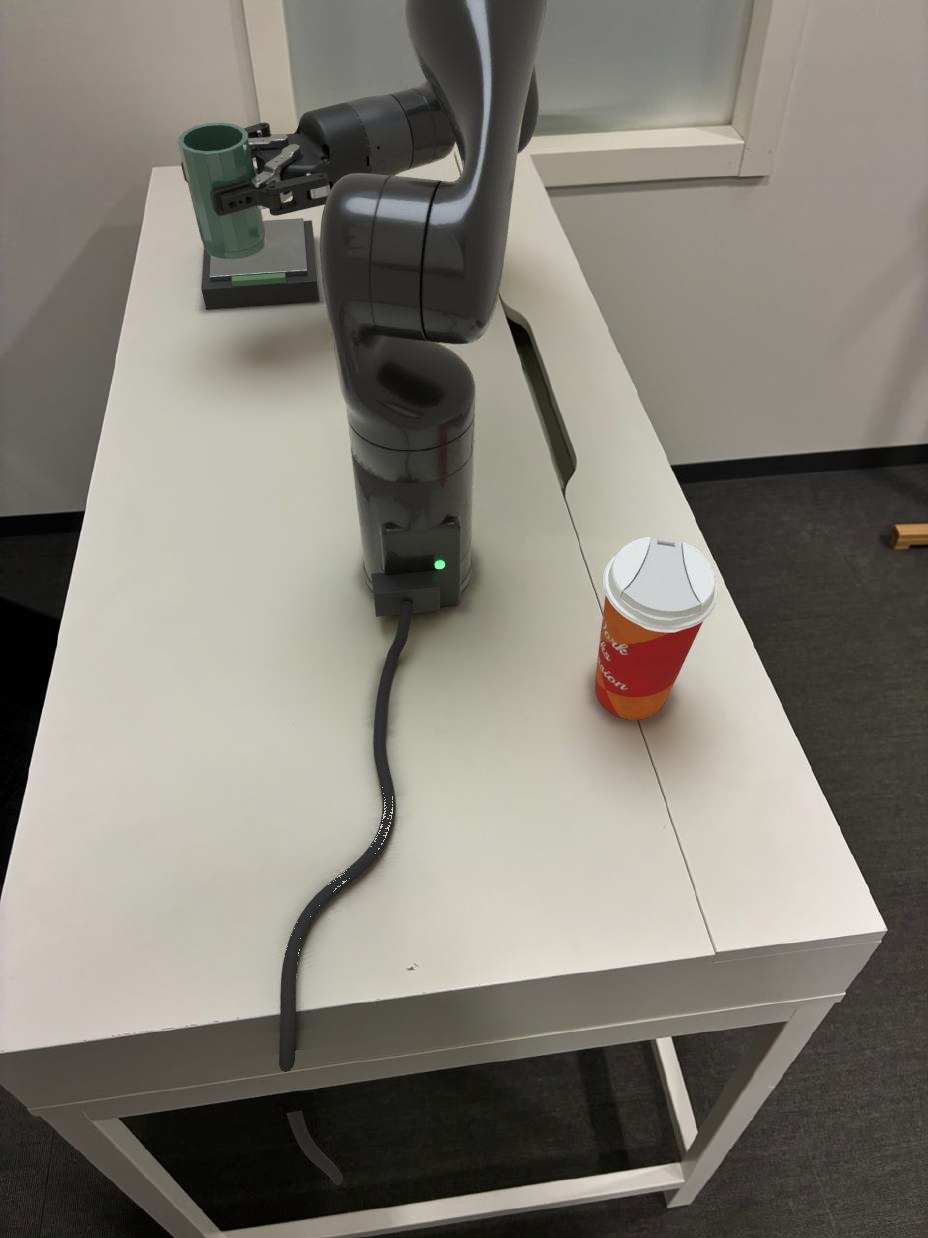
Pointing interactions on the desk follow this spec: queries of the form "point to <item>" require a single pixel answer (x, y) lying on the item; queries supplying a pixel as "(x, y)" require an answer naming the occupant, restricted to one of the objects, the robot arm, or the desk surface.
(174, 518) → the desk surface
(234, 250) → the tumbler
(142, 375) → the desk surface
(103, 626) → the desk surface
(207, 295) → the scale
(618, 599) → the paper cup
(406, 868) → the desk surface
